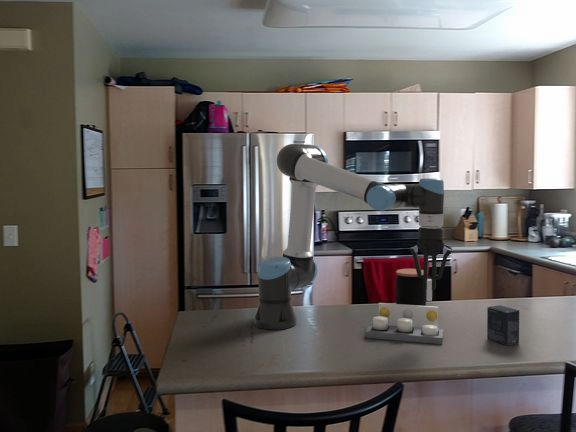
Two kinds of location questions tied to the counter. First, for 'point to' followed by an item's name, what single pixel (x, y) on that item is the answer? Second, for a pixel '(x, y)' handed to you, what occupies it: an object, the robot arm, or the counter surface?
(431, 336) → the board
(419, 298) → the coffee jar
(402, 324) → the button mid
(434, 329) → the button right
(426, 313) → the pattern card
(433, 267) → the robot arm
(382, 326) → the button left
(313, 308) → the counter surface
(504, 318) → the box
